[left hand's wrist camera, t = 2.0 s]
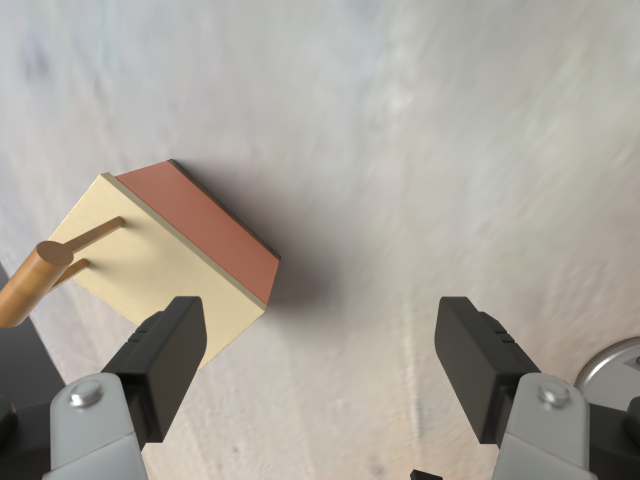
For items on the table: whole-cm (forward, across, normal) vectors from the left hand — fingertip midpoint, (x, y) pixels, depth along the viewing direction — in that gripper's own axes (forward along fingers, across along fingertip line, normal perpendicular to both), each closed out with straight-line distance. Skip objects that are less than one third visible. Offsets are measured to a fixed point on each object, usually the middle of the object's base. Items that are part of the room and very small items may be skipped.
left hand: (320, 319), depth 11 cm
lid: (+16, +14, +7) cm, 22 cm away
